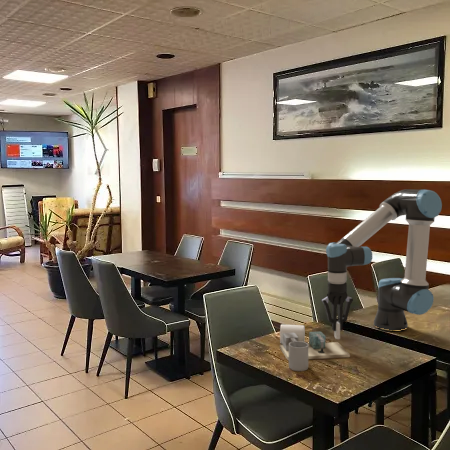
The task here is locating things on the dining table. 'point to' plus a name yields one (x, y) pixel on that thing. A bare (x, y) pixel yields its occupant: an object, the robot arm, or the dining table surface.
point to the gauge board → (328, 352)
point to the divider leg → (317, 340)
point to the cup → (298, 356)
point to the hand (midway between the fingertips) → (337, 338)
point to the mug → (293, 331)
